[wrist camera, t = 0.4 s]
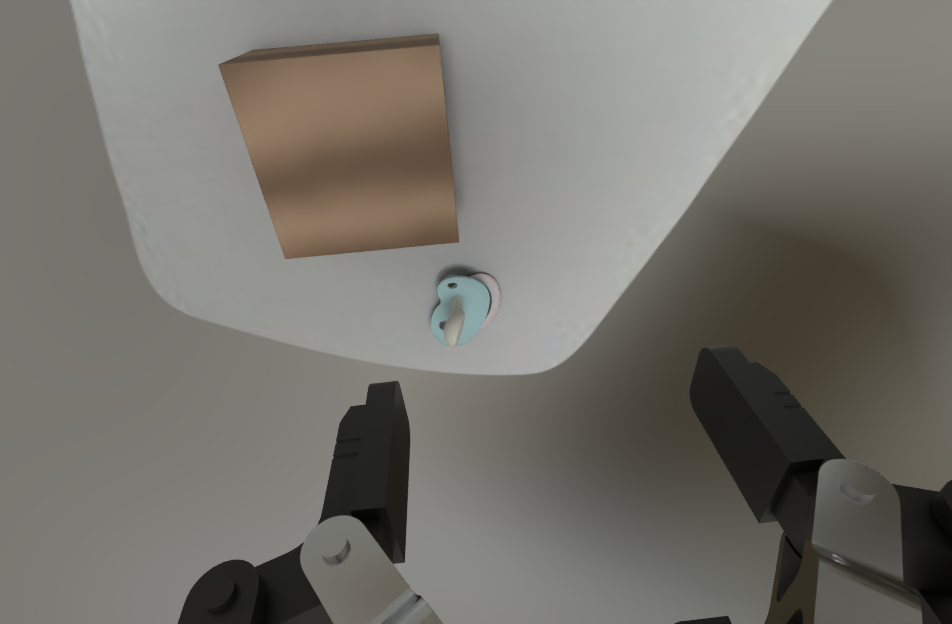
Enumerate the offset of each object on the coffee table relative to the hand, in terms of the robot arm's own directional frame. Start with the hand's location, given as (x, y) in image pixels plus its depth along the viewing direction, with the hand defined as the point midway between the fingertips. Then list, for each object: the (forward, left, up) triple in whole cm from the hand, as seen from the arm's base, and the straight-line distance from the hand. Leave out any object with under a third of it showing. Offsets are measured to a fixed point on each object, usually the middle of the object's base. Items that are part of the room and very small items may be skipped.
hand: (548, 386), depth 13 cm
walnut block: (0, -8, -27) cm, 28 cm away
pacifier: (+15, -2, -27) cm, 31 cm away
